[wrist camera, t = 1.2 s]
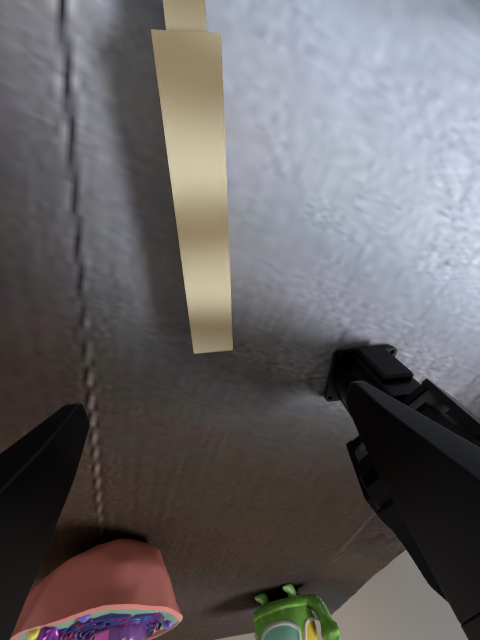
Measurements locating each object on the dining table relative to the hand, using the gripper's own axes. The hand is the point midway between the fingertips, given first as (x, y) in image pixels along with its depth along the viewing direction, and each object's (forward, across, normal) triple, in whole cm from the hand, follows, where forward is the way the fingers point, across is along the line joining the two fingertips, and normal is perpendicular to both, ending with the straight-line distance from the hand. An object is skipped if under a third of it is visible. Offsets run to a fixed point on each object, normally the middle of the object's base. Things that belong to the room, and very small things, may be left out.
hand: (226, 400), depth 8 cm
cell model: (+12, +15, +41) cm, 45 cm away
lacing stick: (+12, +1, -5) cm, 14 cm away
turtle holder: (+12, -14, +76) cm, 79 cm away
